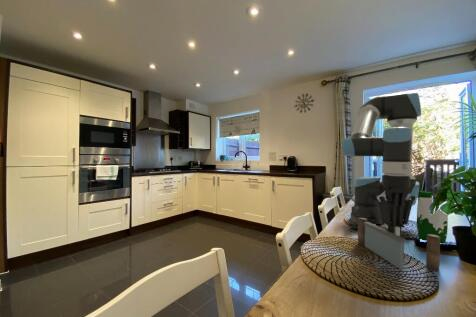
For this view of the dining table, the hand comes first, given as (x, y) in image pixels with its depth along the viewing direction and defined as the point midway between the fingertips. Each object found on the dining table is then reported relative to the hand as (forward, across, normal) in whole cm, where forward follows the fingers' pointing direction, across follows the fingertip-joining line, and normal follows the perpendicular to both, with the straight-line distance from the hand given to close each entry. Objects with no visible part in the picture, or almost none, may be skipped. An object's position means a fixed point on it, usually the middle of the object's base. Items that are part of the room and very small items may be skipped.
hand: (394, 245), depth 71 cm
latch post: (+5, +7, -7) cm, 11 cm away
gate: (+4, -3, +1) cm, 5 cm away
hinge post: (+5, -3, +12) cm, 13 cm away
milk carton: (+5, +27, +11) cm, 30 cm away
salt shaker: (+5, +5, +27) cm, 28 cm away
